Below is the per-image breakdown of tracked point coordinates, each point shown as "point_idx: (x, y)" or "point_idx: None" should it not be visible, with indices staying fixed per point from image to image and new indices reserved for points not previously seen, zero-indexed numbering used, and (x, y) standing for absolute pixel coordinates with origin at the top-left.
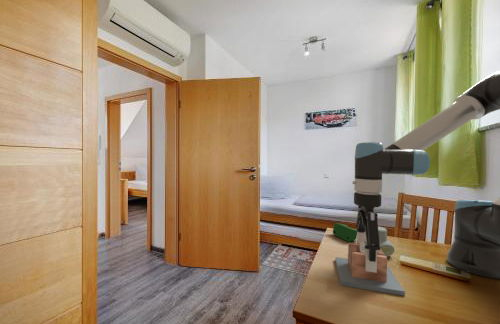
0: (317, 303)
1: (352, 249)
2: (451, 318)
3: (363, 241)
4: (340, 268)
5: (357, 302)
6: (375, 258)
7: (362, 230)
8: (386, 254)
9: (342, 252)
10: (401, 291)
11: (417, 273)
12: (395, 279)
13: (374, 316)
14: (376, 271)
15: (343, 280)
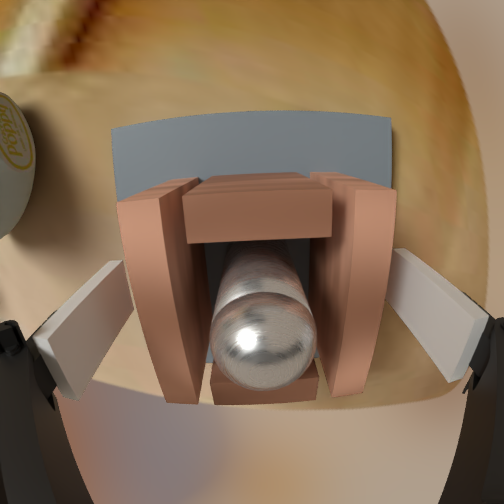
0: (439, 374)
1: (293, 396)
2: (444, 43)
3: (264, 388)
4: None
5: None
6: (471, 299)
7: (35, 374)
8: (21, 125)
9: None
10: (389, 131)
11: (140, 10)
12: (291, 118)
13: (482, 259)
14: (408, 251)
15: None
